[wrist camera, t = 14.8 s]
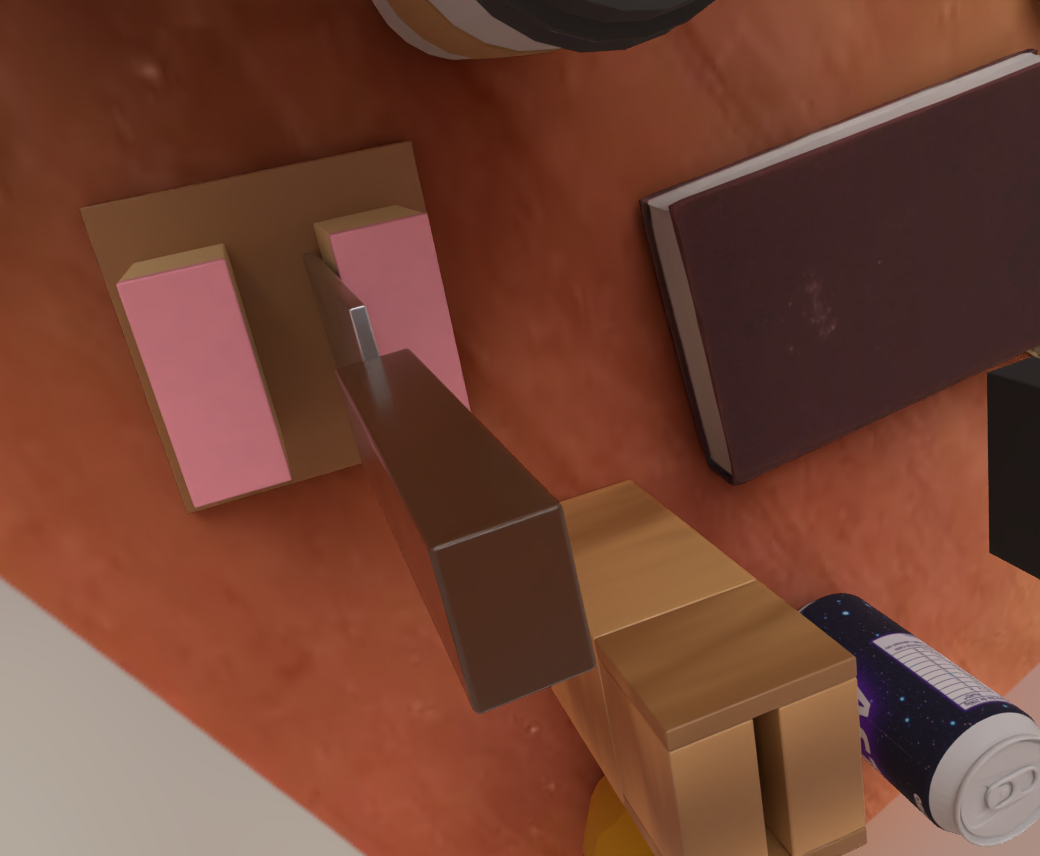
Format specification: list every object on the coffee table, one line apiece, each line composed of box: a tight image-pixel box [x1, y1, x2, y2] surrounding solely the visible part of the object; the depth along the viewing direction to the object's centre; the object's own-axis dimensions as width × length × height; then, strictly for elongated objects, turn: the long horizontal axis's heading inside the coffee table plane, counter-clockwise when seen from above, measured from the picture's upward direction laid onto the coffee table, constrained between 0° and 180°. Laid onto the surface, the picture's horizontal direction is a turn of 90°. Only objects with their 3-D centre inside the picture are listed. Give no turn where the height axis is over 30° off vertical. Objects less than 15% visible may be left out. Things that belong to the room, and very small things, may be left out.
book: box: [639, 49, 1040, 486], centre depth 37 cm, size 12×19×3 cm, turn 108°
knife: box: [303, 252, 596, 714], centre depth 21 cm, size 5×2×22 cm, turn 13°
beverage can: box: [798, 593, 1040, 847], centre depth 39 cm, size 6×6×12 cm
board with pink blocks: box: [79, 141, 471, 514], centre depth 29 cm, size 11×11×6 cm
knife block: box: [550, 480, 867, 856], centre depth 32 cm, size 7×6×15 cm
